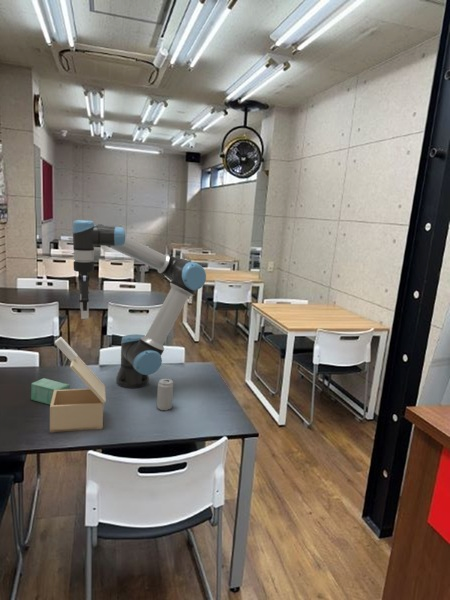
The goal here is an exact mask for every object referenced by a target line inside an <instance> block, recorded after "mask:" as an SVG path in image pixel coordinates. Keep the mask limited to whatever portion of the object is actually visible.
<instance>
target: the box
mask: <svg viewBox="0 0 450 600" xmlns="http://www.w3.org/2000/svg"><path fill="white" fill-rule="evenodd" d="M65 389H70V384H69V383H64V382H60V381H56V380H52V379H50V378H49V379H48V378H44V377H43V378H41V379H39V380H36V381H33V382H31V384H30V400H31V401H35V402H37V403H42V404H46V405H50V404H51V400H52V396H53V392H54V390H65Z"/></svg>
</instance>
